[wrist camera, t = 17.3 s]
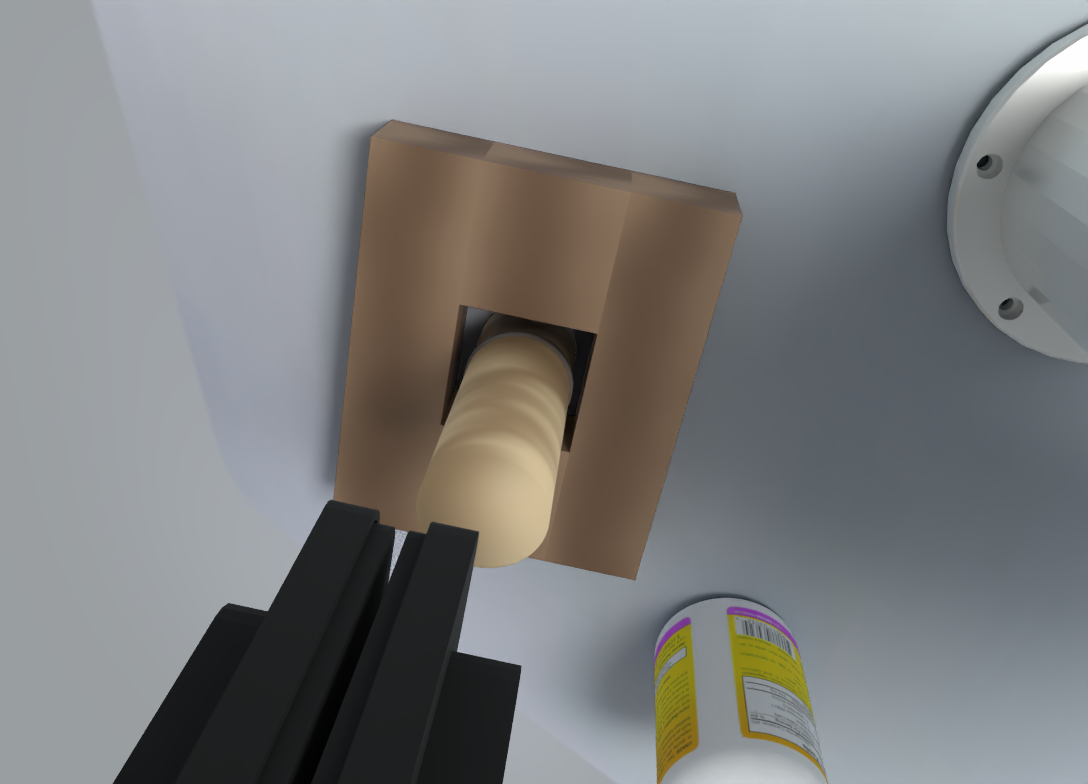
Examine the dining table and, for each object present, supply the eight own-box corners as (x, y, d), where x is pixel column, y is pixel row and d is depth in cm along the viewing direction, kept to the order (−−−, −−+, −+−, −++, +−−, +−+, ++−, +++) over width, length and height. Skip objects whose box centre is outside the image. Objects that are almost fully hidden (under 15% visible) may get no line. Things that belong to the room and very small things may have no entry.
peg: (588, 312, 38) (564, 469, 27) (567, 402, 40) (538, 582, 29) (486, 290, 38) (423, 439, 27) (470, 381, 40) (406, 554, 29)
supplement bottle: (671, 708, 47) (679, 964, 35) (639, 603, 44) (637, 844, 33) (808, 689, 45) (863, 949, 34) (785, 579, 43) (835, 823, 31)
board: (735, 193, 35) (742, 215, 32) (635, 538, 42) (634, 580, 40) (391, 119, 35) (370, 136, 32) (351, 477, 42) (331, 515, 40)
